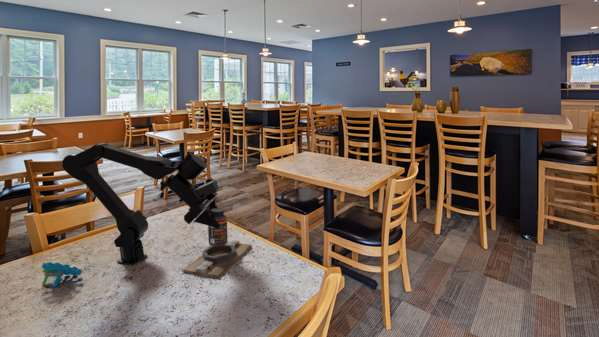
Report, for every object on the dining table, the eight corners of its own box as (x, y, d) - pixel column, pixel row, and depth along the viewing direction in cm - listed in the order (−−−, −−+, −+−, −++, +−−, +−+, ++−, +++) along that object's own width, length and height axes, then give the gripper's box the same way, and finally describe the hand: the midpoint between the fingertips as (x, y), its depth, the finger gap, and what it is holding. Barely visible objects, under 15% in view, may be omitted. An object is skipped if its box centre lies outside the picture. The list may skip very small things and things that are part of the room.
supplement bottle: (214, 249, 104) (212, 214, 102) (205, 243, 109) (203, 209, 106) (231, 243, 108) (230, 210, 106) (222, 238, 112) (220, 205, 110)
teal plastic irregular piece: (91, 270, 99) (63, 259, 91) (82, 291, 96) (53, 281, 88) (61, 271, 102) (32, 260, 94) (52, 291, 99) (21, 281, 91)
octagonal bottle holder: (182, 272, 101) (182, 263, 101) (221, 242, 122) (221, 235, 121) (217, 278, 97) (217, 269, 97) (251, 247, 118) (251, 239, 117)
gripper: (192, 179, 95) (233, 216, 97) (210, 166, 113) (243, 198, 115) (166, 205, 96) (207, 242, 98) (188, 188, 114) (221, 219, 117)
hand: (221, 223), depth 107 cm, fingers closed on supplement bottle, 6 cm apart
